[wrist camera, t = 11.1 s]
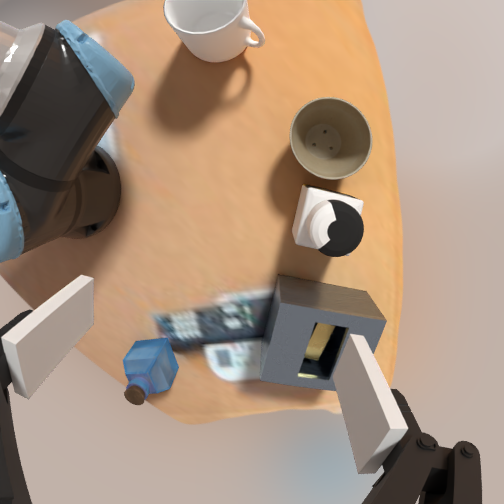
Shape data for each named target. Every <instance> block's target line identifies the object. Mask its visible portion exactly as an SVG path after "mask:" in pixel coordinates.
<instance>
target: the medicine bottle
mask: <svg viewBox="0 0 504 504" xmlns="http://www.w3.org/2000/svg"><path fill="white" fill-rule="evenodd" d="M362 208H363V201H362V200H360V199H357V198H355V197H353V196H350V195H347V194H344V193H340V192H336V191H332V190H328V189H324V188H320V187H316V186H312V185H307V184H303V185H302V189H301V193H300V197H299V202H298V206H297V210H296V215H295V219H294V223H293V227H292V234H293V237H294V240H295V243H296V244H297V245H301V246H305V247H310V248H315V249H318V250H319V251H320V252H321V253H323V254H325V255H327V256H332V257H340V256H344V255H346V256H349V255H350V253H351V252H352V251H353V250H355V249H356V247H357V246H358V245H359V243H360V242H361V239H362V237H363V232H364V225H363V221H362V218H361V212H362Z"/></svg>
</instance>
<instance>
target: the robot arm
mask: <svg viewBox="0 0 504 504" xmlns="http://www.w3.org/2000/svg"><path fill="white" fill-rule="evenodd" d="M133 89H134V78H133V76H132V74H131V73H130V72H129V71H128V70H127V69H126V68H125V67H124V66H123V65H122V64H121V63H120V62H119V61H118V60H117V59H116V58H114V57H113V56H112V55H111V54H110V53H109V52H108V51H106V50H105V49H104V48H103V47H102V46H101V45H99V44H98V43H97V42H96V41H94V40H93V39H92V38H90V37H89V36H88V35H87V34H86V33H84V32H83V31H82V30H81V29H80V28H78V27H77V26H76V25H74V24H73V23H72V22H70V21H68V20H64V21H62V22H61V23H60V24H57V26H56V29H55V30H54V29H52V28H50V27H48V26H46V25H45V24H43V23H39V24H36V25H33V26H30V27H27V28H25V29H17V28H15V27H12V26H10V25H8V24H6V23H4V22H2V21H0V263H1V262H4V261H7V260H10V259H16V258H18V257H19V256H20V255H21V254H23V253H25V252H27V251H29V250H31V249H34V248H36V247H38V246H40V245H42V244H45V243H47V242H49V241H51V240H54V239H56V238H58V237H65V238H72V239H82V238H86V237H89V236H92V235H94V234H96V233H98V232H100V231H101V230H103V229H104V228H105V227H106V226H107V225H108V224H109V223H110V222H111V220H112V219H113V217H114V215H115V213H116V211H117V208H118V205H119V201H120V194H121V185H120V177H119V173H118V170H117V168H116V165H115V163H114V161H113V160H112V158H111V157H110V156H109V154H108V153H107V152H106V151H105V150H103V149H102V148H101V147H99V146H97V145H98V143H99V141H100V140H101V138H102V137H103V135H104V134H105V132H106V131H107V129H108V128H109V126H110V125H111V123H112V122H113V120H114V119H115V118H116V119H117V118H118V116H119V111H120V110H121V108H122V107H123V105H124V104H125V102H126V101H127V99H128V98H129V96H130V95H131V93H132V92H133ZM93 325H94V278H91V277H88V276H84V275H80V276H79V277H78V278H76V279H75V280H73V281H72V282H71V283H69V284H68V285H67V286H65V287H64V288H63V289H61V290H60V291H59V292H57V293H56V294H55V295H54V296H52V297H51V298H50V299H48V300H47V301H46V302H44V303H43V304H42V305H41V306H39V307H38V308H37V309H35V310H34V311H33V310H27V311H25V312H22V313H20V314H19V315H17V316H16V317H15V318H14V320H11V321H10V322H9V323H8V324H6V325H5V326H3V327H2V328H1V329H0V504H32V502H31V499H30V495H29V492H28V489H27V485H26V482H25V478H24V474H23V470H22V466H21V462H20V457H19V453H18V448H17V443H16V438H15V432H14V427H13V420H12V413H11V406H10V398H9V391H8V388H7V387H8V385H9V384H10V383H11V382H12V383H13V387H14V390H15V392H16V393H18V394H19V395H21V396H23V397H25V398H27V399H30V397H31V396H32V395H33V394H34V393H35V391H36V390H37V389H38V388H39V386H40V385H41V384H42V383H43V381H45V379H46V378H47V377H48V376H49V375H50V373H51V372H52V371H53V370H54V369H55V368H56V366H57V365H58V364H59V363H60V362H61V361H62V359H63V358H64V357H65V356H66V355H67V354H68V353H69V351H70V350H71V349H72V348H73V347H74V346H75V345H76V343H77V342H78V341H79V340H80V339H81V338H82V337H83V336H84V335H85V333H86V332H87V331H88V330H89V329H90V328H91V327H92V326H93ZM333 380H334V383H335V387H336V391H337V394H338V398H339V401H340V405H341V409H342V413H343V416H344V420H345V424H346V428H347V431H348V435H349V439H350V443H351V447H352V450H353V455H354V459H355V463H356V466H357V471H358V474H368V473H376V472H377V470H378V469H379V468H380V466H381V465H383V469H384V473H383V474H382V475H381V476H380V478H379V479H378V480H377V481H376V482H375V484H374V485H373V488H372V490H371V491H370V493H369V494H368V496H367V497H366V498H365V500H364V501H363V503H362V504H415V503H416V501H417V499H418V497H419V495H420V498H419V503H418V504H482V482H481V465H480V454H479V451H478V449H477V448H476V446H474V445H473V444H472V443H469V442H467V441H461V442H458V443H457V444H456V445H455V446H454V447H453V449H450V448H445V447H440V446H439V445H438V443H437V441H436V440H435V439H434V438H433V437H432V436H430V435H429V434H426V433H422V432H421V430H420V428H419V426H418V424H417V421H416V420H415V417H414V415H413V413H412V412H411V409H410V408H409V406H408V403H407V401H406V399H405V397H404V396H403V395H402V394H401V393H400V392H399V391H398V390H397V389H390V388H389V386H388V384H387V382H386V380H385V378H384V376H383V373H382V371H381V369H380V367H379V365H378V363H377V361H376V359H375V357H374V355H373V353H372V351H371V349H370V347H369V345H368V343H367V341H366V339H365V338H364V336H361V335H355V334H350V335H349V338H348V340H347V343H346V345H345V348H344V350H343V353H342V355H341V358H340V360H339V362H338V365H337V367H336V370H335V372H334V374H333Z"/></svg>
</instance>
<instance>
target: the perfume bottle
mask: <svg viewBox="0 0 504 504" xmlns="http://www.w3.org/2000/svg"><path fill="white" fill-rule="evenodd" d="M123 364H124V369H125V374H126V376H127V378H128V381H129V384H128V385H127V387H126V391H125V392H124V395H125V398H126V399H127V400H128V401H129V402H130V403H132V404H135V405H141V404H143V403H144V400H145V399H146V398H147V397H148V395H149V394H153V393H159V392H162V391H165V390H168V389H170V387H171V385H172V383H173V380H174V378H175V375H176V373H177V371H178V368H179V366H178V364H177V361H176V359H175V356H174V353H173V351H172V348H171V345H170V343H169V340H168V338H160V339H151V340H142V341H136V342H135V343H134V345H133V346H132V347H131V349H130V350H129V352H128V353H127V355H126V356H125V358H124V359H123Z"/></svg>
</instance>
